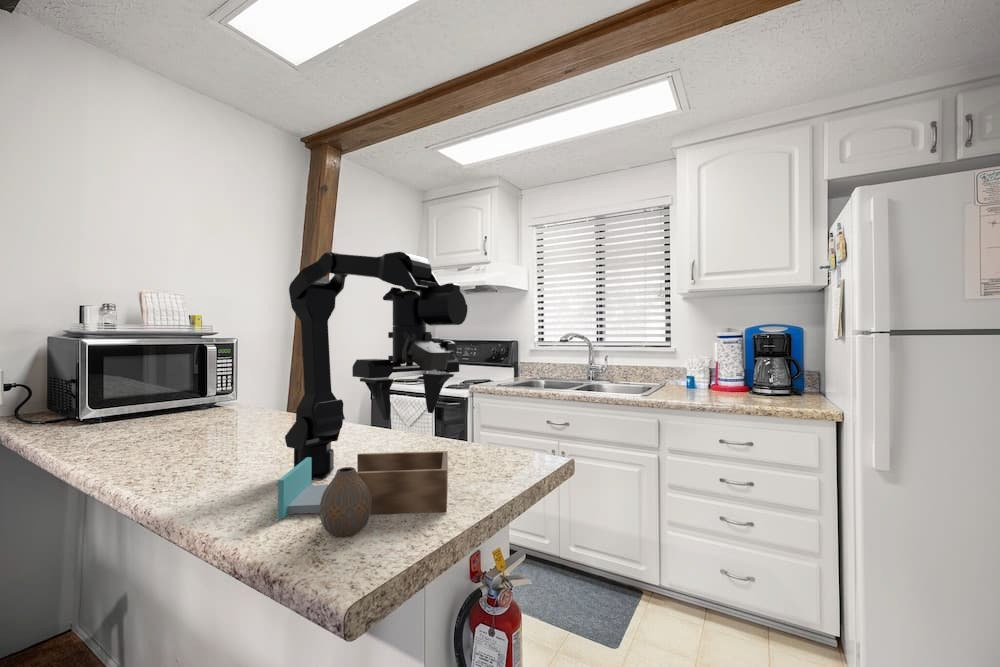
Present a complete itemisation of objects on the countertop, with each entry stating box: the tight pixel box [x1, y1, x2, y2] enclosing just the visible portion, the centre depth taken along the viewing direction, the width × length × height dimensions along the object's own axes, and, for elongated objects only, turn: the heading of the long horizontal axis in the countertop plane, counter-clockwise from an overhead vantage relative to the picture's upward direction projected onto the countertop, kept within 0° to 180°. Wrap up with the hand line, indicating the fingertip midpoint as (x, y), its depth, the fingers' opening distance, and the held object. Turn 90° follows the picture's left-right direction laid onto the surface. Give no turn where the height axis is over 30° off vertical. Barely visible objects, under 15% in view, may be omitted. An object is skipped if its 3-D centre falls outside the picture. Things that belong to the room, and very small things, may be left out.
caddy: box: [356, 450, 449, 516], centre depth 74 cm, size 16×12×6 cm
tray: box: [277, 457, 329, 520], centre depth 73 cm, size 16×13×6 cm
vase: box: [319, 466, 372, 539], centre depth 62 cm, size 7×7×9 cm
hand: (409, 416), depth 76 cm, fingers open, 9 cm apart
